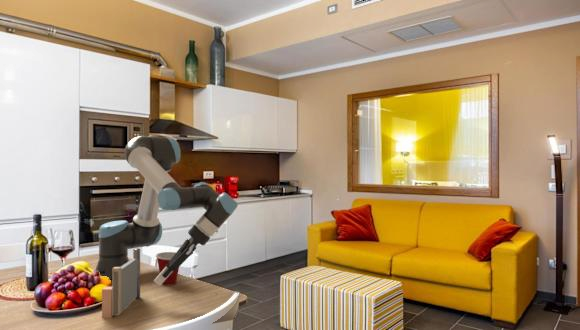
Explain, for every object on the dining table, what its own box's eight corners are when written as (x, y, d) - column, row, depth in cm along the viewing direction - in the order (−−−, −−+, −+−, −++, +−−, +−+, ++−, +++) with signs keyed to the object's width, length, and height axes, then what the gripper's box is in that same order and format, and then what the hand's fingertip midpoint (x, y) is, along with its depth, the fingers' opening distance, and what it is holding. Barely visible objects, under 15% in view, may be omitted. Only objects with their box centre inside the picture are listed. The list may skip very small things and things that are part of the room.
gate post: (132, 297, 148) (132, 248, 148) (139, 296, 149) (139, 248, 149) (133, 299, 146) (133, 250, 146) (140, 298, 147) (140, 249, 147)
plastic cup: (175, 288, 159) (175, 258, 159) (150, 286, 161) (150, 256, 161) (187, 280, 170) (187, 252, 170) (164, 278, 172) (164, 250, 172)
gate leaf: (131, 297, 145) (131, 255, 145) (137, 297, 145) (137, 255, 145) (112, 314, 128) (112, 268, 128) (119, 314, 128) (119, 268, 128)
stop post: (105, 313, 132) (106, 286, 132) (115, 313, 132) (115, 286, 132) (101, 317, 129) (102, 289, 129) (111, 317, 129) (111, 289, 129)
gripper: (212, 241, 137) (165, 296, 134) (209, 233, 150) (165, 283, 146) (196, 227, 135) (147, 282, 132) (193, 220, 148) (149, 270, 144)
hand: (157, 282), depth 139 cm, fingers closed
